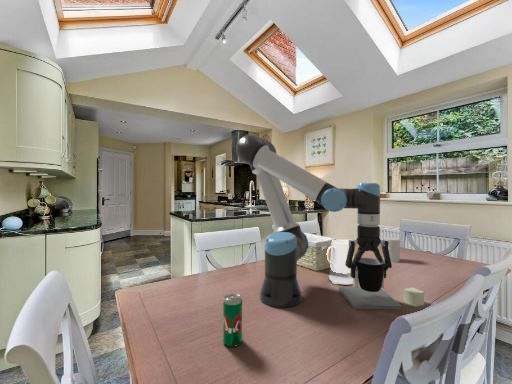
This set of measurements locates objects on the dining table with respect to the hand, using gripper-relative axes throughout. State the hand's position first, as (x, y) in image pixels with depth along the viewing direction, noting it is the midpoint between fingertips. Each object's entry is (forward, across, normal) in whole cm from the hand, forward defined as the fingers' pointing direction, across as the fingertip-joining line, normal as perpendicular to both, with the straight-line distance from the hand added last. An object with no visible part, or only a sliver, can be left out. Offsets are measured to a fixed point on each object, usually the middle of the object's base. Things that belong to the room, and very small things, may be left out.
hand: (368, 286), depth 94 cm
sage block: (+5, +15, -3) cm, 16 cm away
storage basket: (+5, -13, +43) cm, 45 cm away
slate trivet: (+4, 0, 0) cm, 4 cm away
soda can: (+4, -47, -27) cm, 55 cm away
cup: (+5, +35, +51) cm, 62 cm away
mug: (0, -1, 0) cm, 1 cm away
